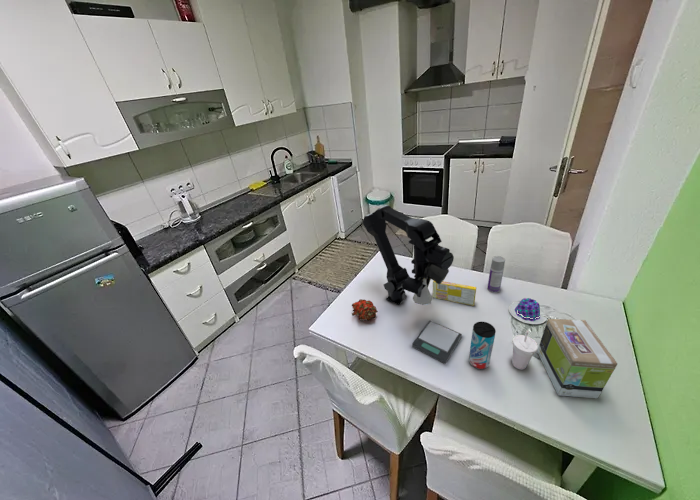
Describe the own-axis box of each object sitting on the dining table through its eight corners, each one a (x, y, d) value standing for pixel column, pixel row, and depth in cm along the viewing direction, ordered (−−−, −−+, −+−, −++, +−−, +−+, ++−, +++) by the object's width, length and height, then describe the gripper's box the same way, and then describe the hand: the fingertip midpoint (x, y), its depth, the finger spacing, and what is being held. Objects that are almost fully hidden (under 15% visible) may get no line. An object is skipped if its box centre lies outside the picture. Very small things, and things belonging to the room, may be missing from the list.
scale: (412, 347, 96) (412, 342, 95) (429, 323, 104) (429, 318, 103) (445, 364, 89) (446, 359, 87) (461, 337, 97) (462, 332, 95)
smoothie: (529, 357, 87) (538, 326, 80) (533, 375, 82) (544, 343, 75) (506, 353, 89) (513, 322, 82) (508, 370, 84) (517, 339, 77)
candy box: (474, 303, 110) (476, 286, 106) (474, 306, 108) (476, 290, 104) (433, 294, 117) (433, 278, 113) (432, 297, 116) (432, 282, 111)
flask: (433, 305, 99) (433, 284, 94) (412, 305, 101) (412, 283, 96) (432, 292, 105) (432, 271, 100) (412, 292, 107) (412, 271, 102)
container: (488, 284, 118) (493, 254, 110) (501, 287, 115) (506, 257, 108) (486, 290, 115) (490, 260, 107) (498, 293, 112) (504, 263, 105)
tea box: (599, 399, 74) (620, 364, 66) (557, 396, 76) (572, 361, 68) (571, 352, 86) (586, 318, 79) (535, 350, 89) (546, 317, 81)
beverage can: (466, 354, 91) (470, 322, 83) (484, 353, 90) (490, 320, 82) (472, 370, 86) (477, 337, 78) (492, 369, 85) (499, 336, 77)
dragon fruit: (377, 327, 107) (355, 318, 116) (385, 307, 109) (363, 299, 118) (365, 322, 102) (343, 312, 110) (374, 300, 104) (351, 292, 112)
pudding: (526, 298, 108) (529, 288, 105) (555, 319, 98) (558, 308, 95) (501, 308, 106) (503, 297, 103) (527, 330, 96) (530, 319, 93)
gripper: (432, 278, 83) (431, 316, 91) (456, 250, 94) (454, 286, 102) (399, 268, 90) (401, 304, 97) (426, 242, 101) (426, 277, 109)
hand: (422, 292), depth 101 cm, fingers closed on flask, 5 cm apart
